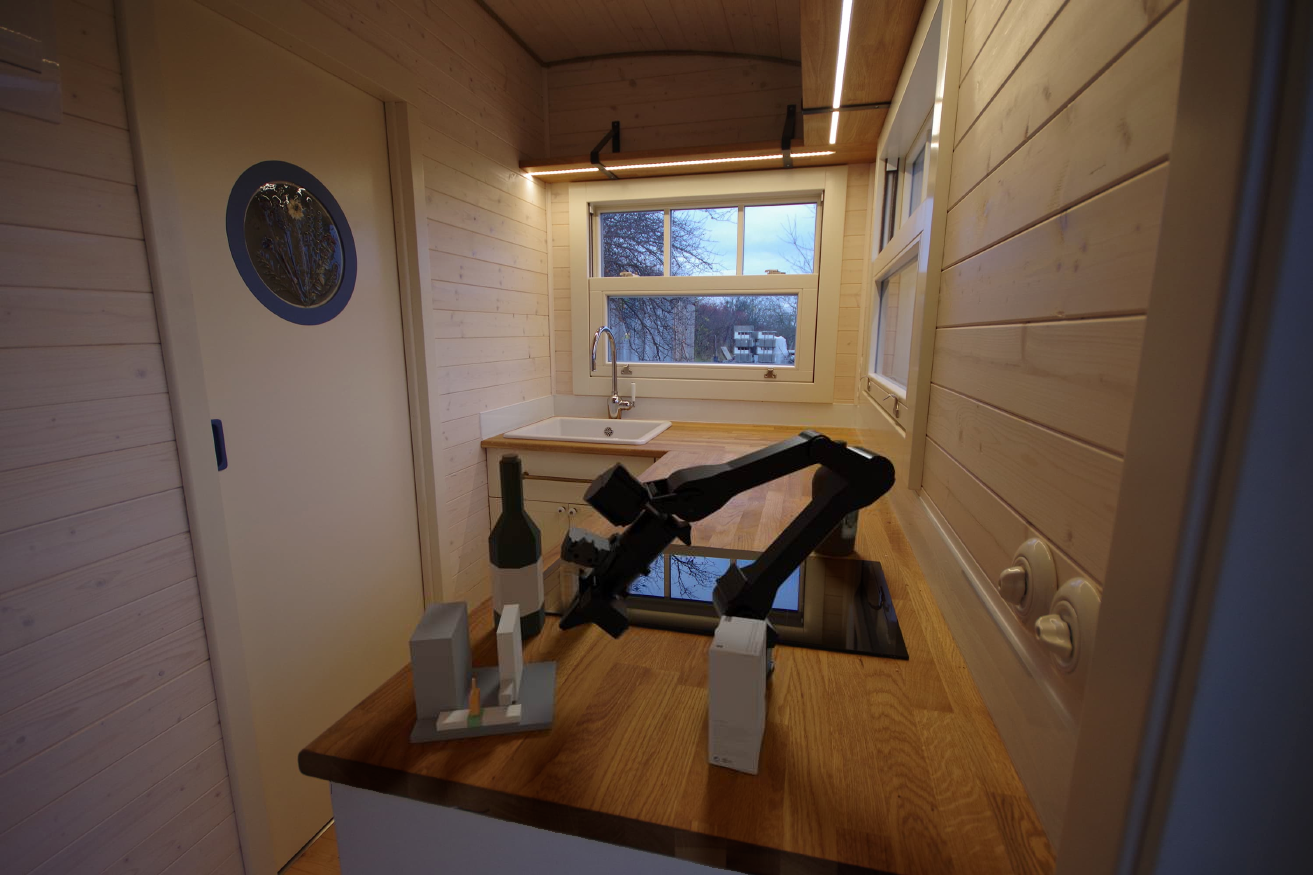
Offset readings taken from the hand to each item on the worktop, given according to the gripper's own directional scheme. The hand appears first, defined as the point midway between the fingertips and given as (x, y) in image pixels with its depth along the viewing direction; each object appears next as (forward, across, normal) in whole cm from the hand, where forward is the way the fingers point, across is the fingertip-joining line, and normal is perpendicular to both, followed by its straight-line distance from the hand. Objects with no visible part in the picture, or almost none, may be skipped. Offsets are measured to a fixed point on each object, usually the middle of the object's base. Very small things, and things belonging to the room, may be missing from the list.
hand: (561, 627), depth 72 cm
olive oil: (-34, -40, +49) cm, 72 cm away
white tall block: (+11, +1, +1) cm, 11 cm away
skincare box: (-8, +13, +22) cm, 27 cm away
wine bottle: (+12, -17, +1) cm, 21 cm away
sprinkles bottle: (+5, -19, +9) cm, 21 cm away
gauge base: (+14, +1, 0) cm, 14 cm away
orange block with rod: (+12, +6, -3) cm, 14 cm away
